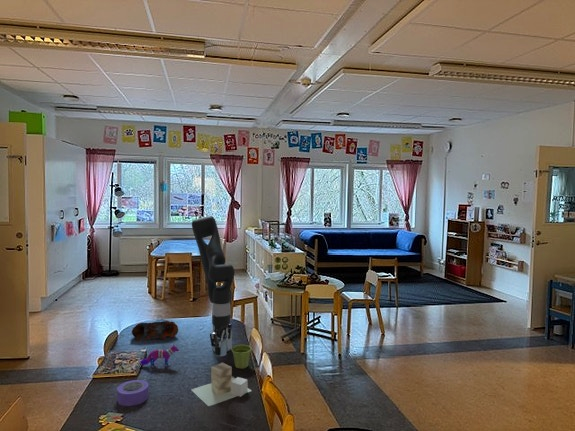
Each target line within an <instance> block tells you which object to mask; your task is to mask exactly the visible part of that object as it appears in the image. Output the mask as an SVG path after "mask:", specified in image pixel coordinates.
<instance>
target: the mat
mask: <svg viewBox="0 0 575 431" xmlns="http://www.w3.org/2000/svg"><path fill="white" fill-rule="evenodd" d="M234 379H236V378H235V377H234V375H233V376H232V379H231V381H233V380H234ZM190 391H191V392H193V393H194V394H195V395H196V396H197V397H198V398H199V399H200V400H201V401H202V402H203V403H205V405H206V406H208V407H211V406H214V405H217V404H220V403H222V402H226V401H229V400H230V399H233V398H236V397H238V396H237V395H233V394H231V391H230V392H227V393H224V394H221V395H217V394H216V393H215V392H214V391H213V390H212V382H210V383H207V384H205V385H200V386H198V387H195V388H191V389H190ZM250 392H252V389H250V388H248V391H247V392H246V393H245V394H247V393H250Z"/></svg>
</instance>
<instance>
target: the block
mask: <svg viewBox="0 0 575 431" xmlns="http://www.w3.org/2000/svg"><path fill="white" fill-rule="evenodd" d="M248 384H249V383H248V379H247V378H243V377H240V376H237V377H236V378H235V379H234V380H233V381H231V394H233V395H237V396H236V397H239V398H240V397H242V396H244V395H245V394H247V393H246V392H247V391H248V386H249V385H248Z"/></svg>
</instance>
